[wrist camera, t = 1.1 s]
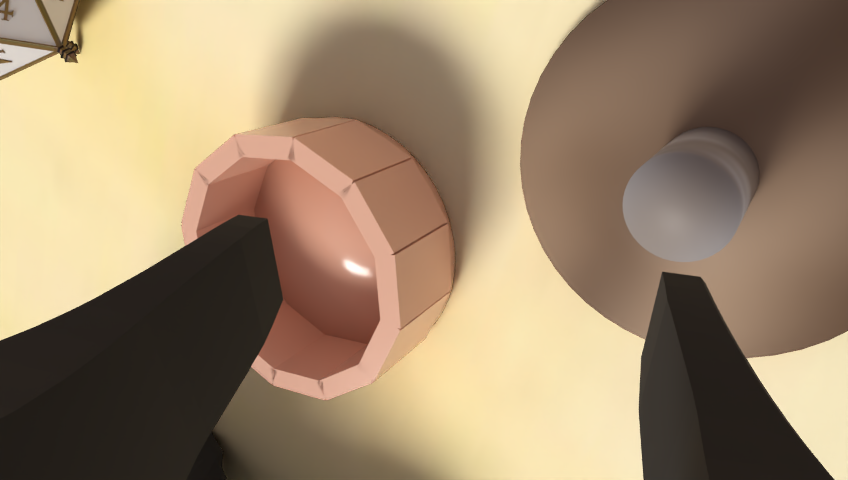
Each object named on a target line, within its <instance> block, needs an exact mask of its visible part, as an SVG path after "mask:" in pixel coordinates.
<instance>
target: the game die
mask: <svg viewBox="0 0 848 480" xmlns="http://www.w3.org/2000/svg"><path fill="white" fill-rule="evenodd" d="M78 3H79V0H0V80H2V79H4V78H6V77H9V76H11V75H13V74H15V73H17V72H19V71H21V70H24V69H26V68H28V67H30V66H32V65H34V64H37V63H39V62H41V61H43V60H45V59H47V58H49V57H52V56H54V55H56V54H58V53H60V55H61V58H64V59H65V62H75V63H78V62H77V59H76V56H77V55H76V54H80V52H79V50H78V49H79V48H78V46H77V44H74V43H73V41H71V42H70V41H68V39H69V36H70V32H71V29H72V25H73V21H74V18H75V14H76V10H77V7H78Z"/></svg>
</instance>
